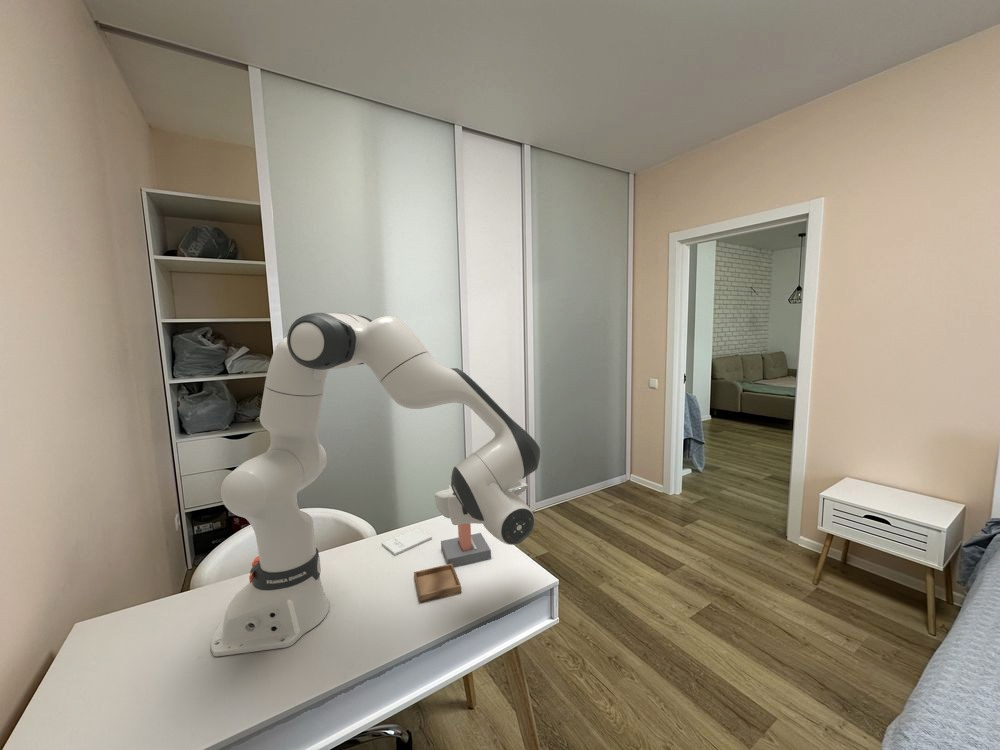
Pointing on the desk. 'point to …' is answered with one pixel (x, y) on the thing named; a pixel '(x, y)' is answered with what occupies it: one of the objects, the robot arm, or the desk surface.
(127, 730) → the desk surface
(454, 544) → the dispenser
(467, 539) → the pink rectangular bar
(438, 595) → the tray
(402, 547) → the external hard drive
